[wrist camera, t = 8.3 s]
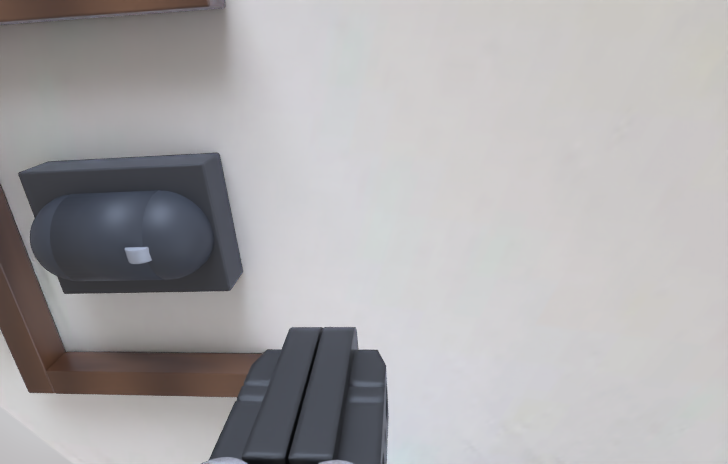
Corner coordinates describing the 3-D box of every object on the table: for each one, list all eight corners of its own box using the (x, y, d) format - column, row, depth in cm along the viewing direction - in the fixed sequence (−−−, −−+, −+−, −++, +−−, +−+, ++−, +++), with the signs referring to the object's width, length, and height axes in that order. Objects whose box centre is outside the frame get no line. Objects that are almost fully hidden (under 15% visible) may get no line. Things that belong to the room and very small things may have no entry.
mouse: (87, 275, 23) (26, 323, 19) (47, 161, 21) (-31, 190, 17) (244, 271, 22) (210, 321, 18) (219, 152, 20) (176, 181, 16)
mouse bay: (49, 372, 26) (28, 393, 25) (-110, -10, 18) (-155, -13, 17) (286, 376, 25) (278, 398, 23) (219, -38, 17) (201, -44, 15)
